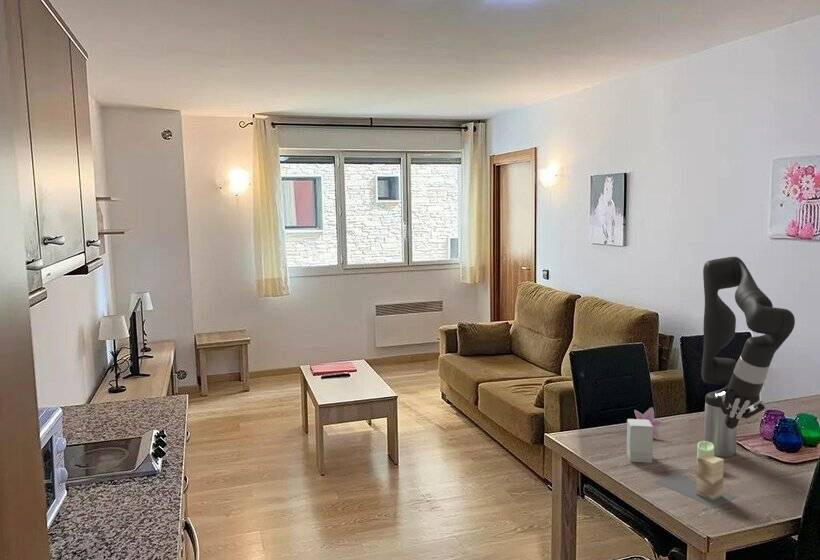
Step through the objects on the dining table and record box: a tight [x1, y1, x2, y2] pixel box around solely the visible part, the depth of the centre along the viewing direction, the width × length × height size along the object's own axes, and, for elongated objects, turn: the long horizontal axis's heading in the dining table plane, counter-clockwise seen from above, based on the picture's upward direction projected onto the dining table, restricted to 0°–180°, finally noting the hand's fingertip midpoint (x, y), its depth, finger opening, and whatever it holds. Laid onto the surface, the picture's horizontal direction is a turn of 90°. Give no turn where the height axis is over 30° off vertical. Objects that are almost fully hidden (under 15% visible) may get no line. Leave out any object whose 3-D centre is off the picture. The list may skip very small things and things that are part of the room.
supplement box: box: [626, 418, 654, 464], centre depth 205 cm, size 7×7×13 cm
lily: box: [633, 407, 664, 441], centre depth 226 cm, size 12×12×10 cm
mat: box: [653, 472, 738, 509], centre depth 181 cm, size 20×11×1 cm, turn 32°
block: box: [696, 454, 725, 501], centre depth 176 cm, size 5×5×11 cm
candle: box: [696, 440, 715, 459], centre depth 196 cm, size 5×5×8 cm
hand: (729, 426), depth 168 cm, fingers closed
